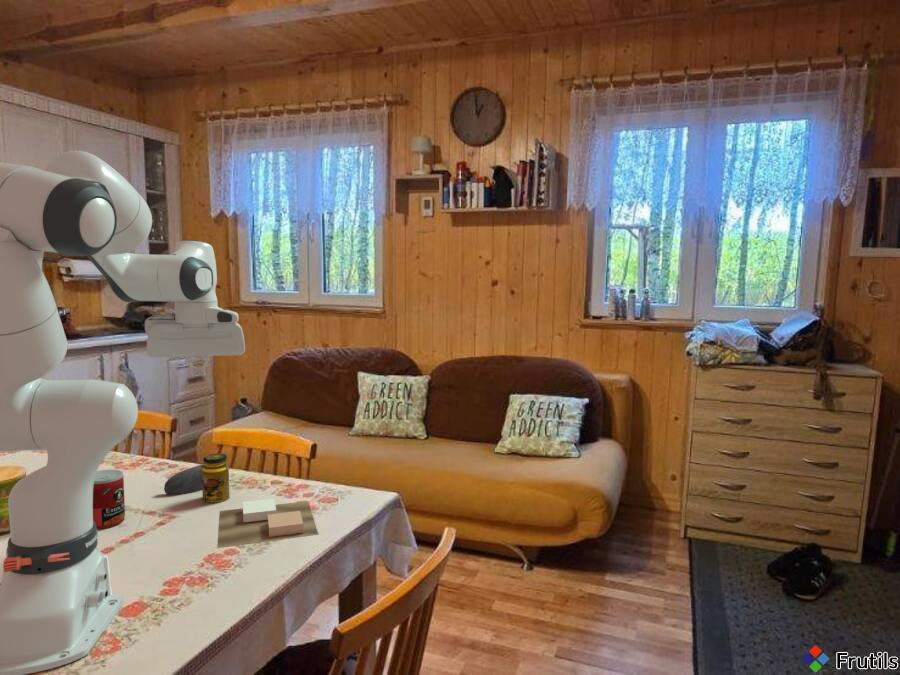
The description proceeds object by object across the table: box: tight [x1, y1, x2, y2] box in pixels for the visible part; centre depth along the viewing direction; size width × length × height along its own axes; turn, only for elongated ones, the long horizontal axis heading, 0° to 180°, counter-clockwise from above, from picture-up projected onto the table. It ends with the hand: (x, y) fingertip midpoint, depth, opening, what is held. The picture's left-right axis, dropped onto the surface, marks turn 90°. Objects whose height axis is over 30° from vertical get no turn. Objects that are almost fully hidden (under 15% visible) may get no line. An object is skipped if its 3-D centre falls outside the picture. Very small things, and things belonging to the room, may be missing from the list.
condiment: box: [201, 452, 230, 505], centre depth 141 cm, size 7×8×12 cm
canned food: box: [93, 469, 126, 530], centre depth 129 cm, size 8×8×11 cm
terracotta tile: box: [267, 511, 303, 537], centre depth 125 cm, size 7×2×7 cm
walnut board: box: [217, 500, 319, 549], centre depth 129 cm, size 19×20×1 cm
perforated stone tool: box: [163, 464, 204, 496], centre depth 147 cm, size 15×5×7 cm, turn 132°
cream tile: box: [242, 498, 276, 523], centre depth 132 cm, size 7×2×7 cm
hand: (198, 375), depth 130 cm, fingers closed
